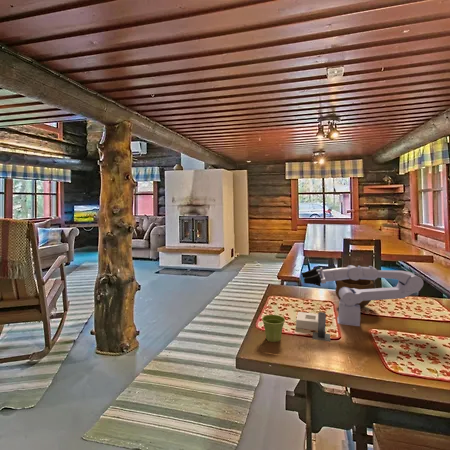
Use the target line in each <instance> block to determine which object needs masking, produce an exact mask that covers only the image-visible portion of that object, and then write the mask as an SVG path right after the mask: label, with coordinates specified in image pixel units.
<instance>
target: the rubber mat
mask: <svg viewBox="0 0 450 450" xmlns="http://www.w3.org/2000/svg"><path fill="white" fill-rule="evenodd" d="M312 340H316V341H323V342H331V334H330V333H326V332H325V338H319V337H318V331H312Z"/></svg>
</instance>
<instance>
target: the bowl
mask: <svg viewBox="0 0 450 450" xmlns="http://www.w3.org/2000/svg"><path fill="white" fill-rule="evenodd" d="M374 285H375V283H374V280H366V279H359V280H356V281H355V280H352V279H345V280H338V281H336V287H335V295H336V296H337V298H338V300H339V301H340V299H341V298H340V297H339V290H340V289H341V288H343V287H348V288H355V289H375V288H374ZM371 301H372V300H368V301H362V302H361V303H357V305H360V308H364V307H365V306H368V305H369V304H370V303H371Z"/></svg>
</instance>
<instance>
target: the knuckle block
mask: <svg viewBox="0 0 450 450" xmlns="http://www.w3.org/2000/svg"><path fill="white" fill-rule="evenodd" d="M295 329H302V330H310V331H316V332H318V313H312V312H304V311H297V316H296V320H295Z"/></svg>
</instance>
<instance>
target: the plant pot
mask: <svg viewBox="0 0 450 450" xmlns="http://www.w3.org/2000/svg"><path fill="white" fill-rule="evenodd" d="M261 320H262V322H263V325H264V326H263V327H264V333H265V339H266V341H268V342H271V343H275V342H276V343H277V342H280V341H281V340H282V334H283V327H284V325H285V322H286V318H285V317H283V316H281V315H279V314H266V315H264V316H262V318H261Z"/></svg>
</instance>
